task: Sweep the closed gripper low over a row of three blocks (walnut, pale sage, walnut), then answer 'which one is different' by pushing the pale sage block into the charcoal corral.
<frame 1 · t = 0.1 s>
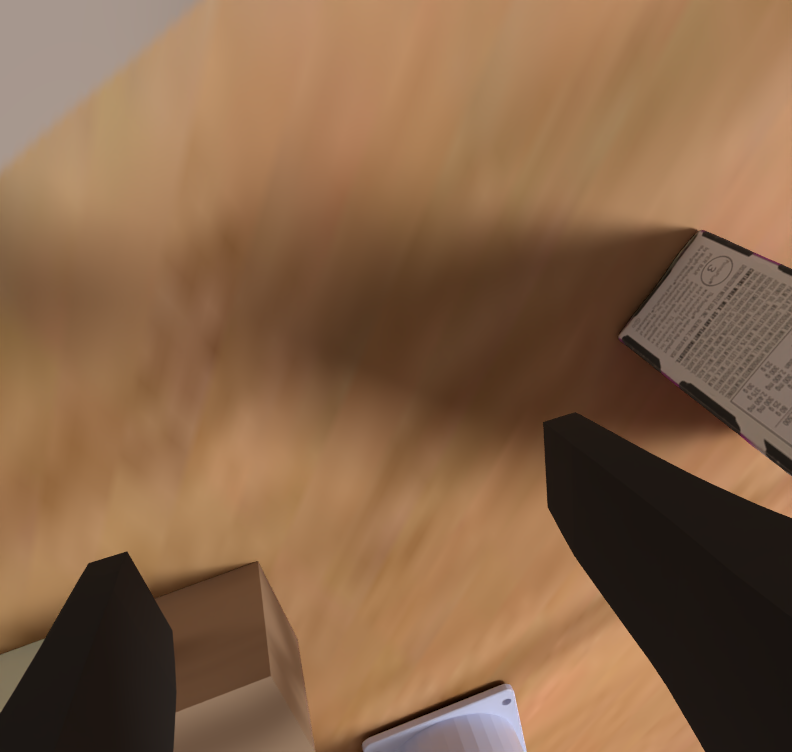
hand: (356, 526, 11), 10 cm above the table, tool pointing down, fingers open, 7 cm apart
candy bar box: (740, 333, 25), on the table
sage block: (15, 697, 25), on the table
walnut block 2: (217, 622, 25), on the table
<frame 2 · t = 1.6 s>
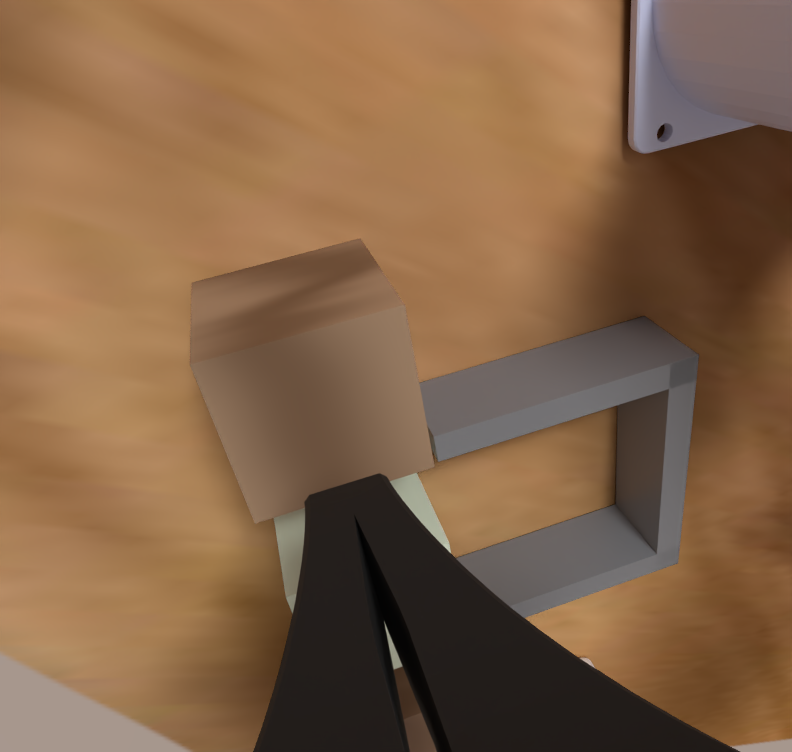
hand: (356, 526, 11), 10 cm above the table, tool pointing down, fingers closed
sage block: (351, 515, 24), on the table
walnut block 2: (298, 333, 20), on the table
corral: (536, 458, 25), on the table
white handled block: (506, 700, 34), on the table
walnut block 1: (388, 642, 29), on the table
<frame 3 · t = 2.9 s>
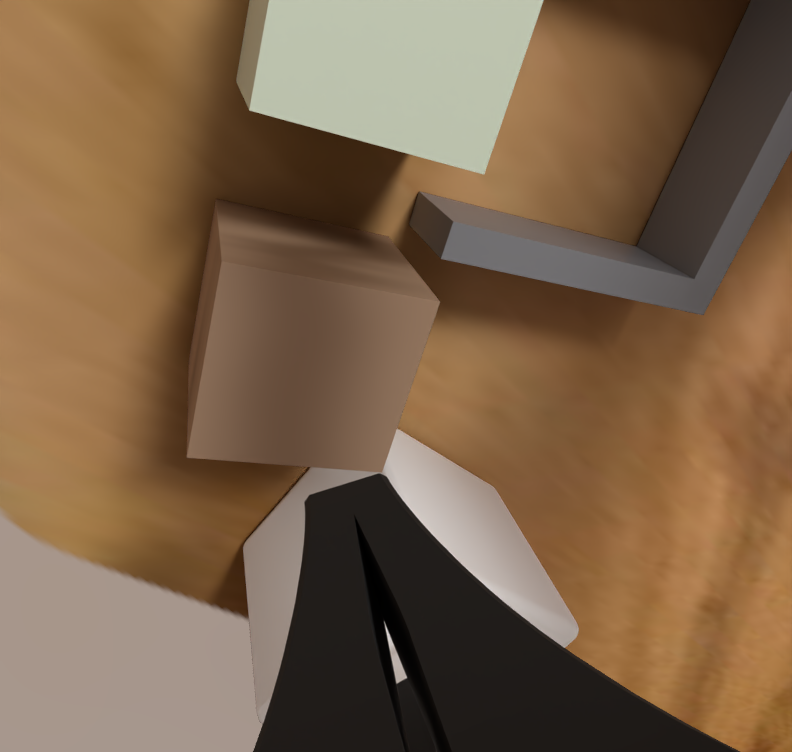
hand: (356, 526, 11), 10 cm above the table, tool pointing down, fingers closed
sage block: (355, 4, 16), on the table
corral: (602, 91, 19), on the table
white handled block: (371, 509, 25), on the table
walnut block 1: (287, 297, 19), on the table
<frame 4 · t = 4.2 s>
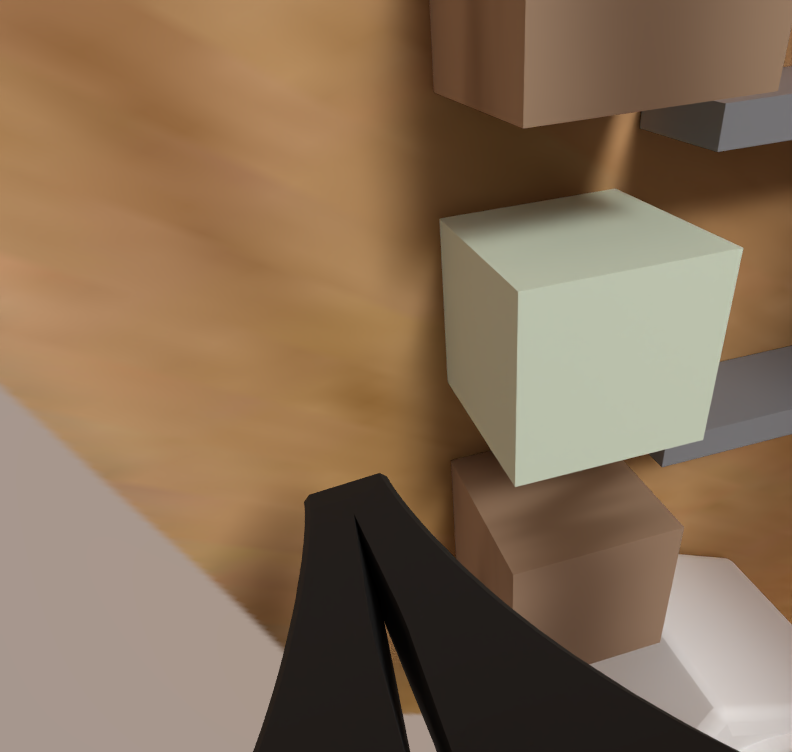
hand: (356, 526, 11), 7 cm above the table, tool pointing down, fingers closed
sage block: (526, 288, 18), on the table
corral: (756, 246, 20), on the table
white handled block: (623, 607, 28), on the table
walnut block 1: (520, 498, 23), on the table
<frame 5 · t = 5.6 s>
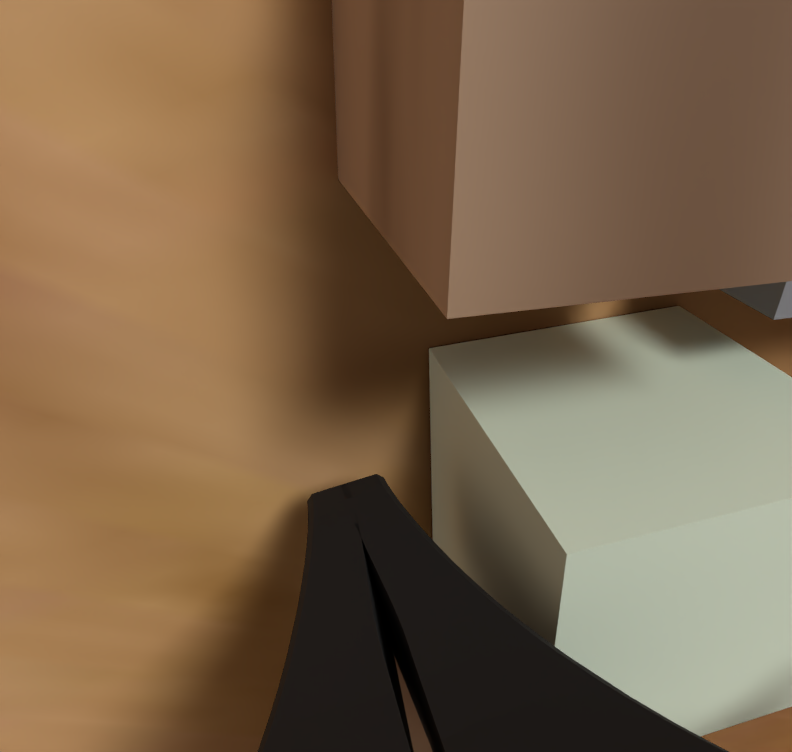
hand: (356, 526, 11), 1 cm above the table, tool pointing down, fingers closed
sage block: (548, 436, 13), on the table, touching gripper
corral: (786, 404, 14), on the table
walnut block 1: (450, 695, 17), on the table
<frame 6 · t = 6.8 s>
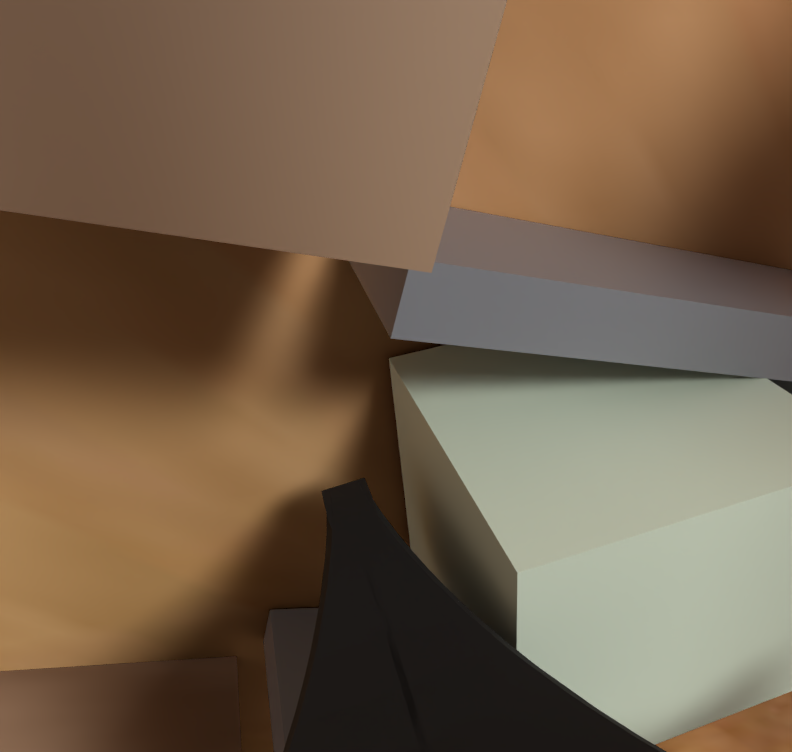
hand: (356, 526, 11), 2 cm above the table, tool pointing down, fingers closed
sage block: (519, 436, 13), resting in corral, touching gripper
corral: (514, 466, 13), on the table
walnut block 1: (110, 734, 15), on the table
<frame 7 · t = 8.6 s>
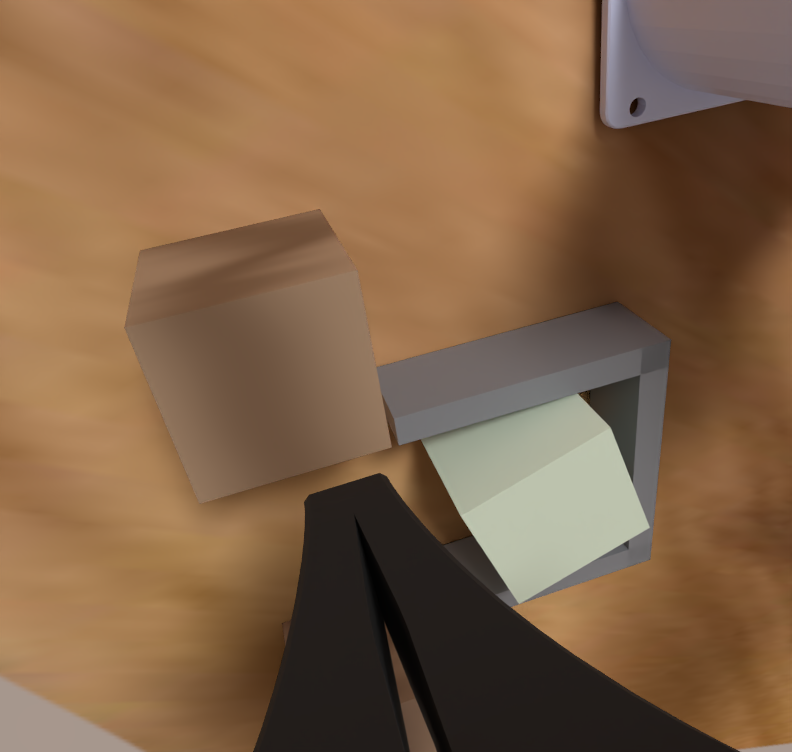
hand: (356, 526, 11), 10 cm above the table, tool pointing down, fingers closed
sage block: (497, 431, 24), resting in corral
walnut block 2: (255, 308, 19), on the table
corral: (505, 448, 24), on the table
walnut block 1: (353, 639, 28), on the table
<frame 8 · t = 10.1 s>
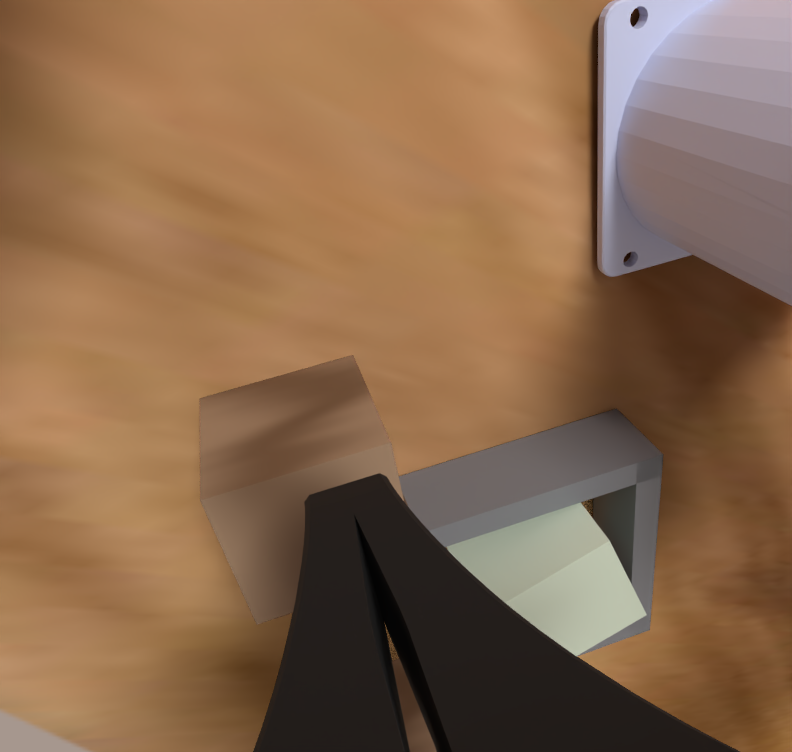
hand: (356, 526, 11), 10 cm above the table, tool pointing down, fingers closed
sage block: (509, 519, 27), resting in corral
walnut block 2: (296, 435, 22), on the table
corral: (517, 533, 27), on the table
walnut block 1: (380, 697, 31), on the table
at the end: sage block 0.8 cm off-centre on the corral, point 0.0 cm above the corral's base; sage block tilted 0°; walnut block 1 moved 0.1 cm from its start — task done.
